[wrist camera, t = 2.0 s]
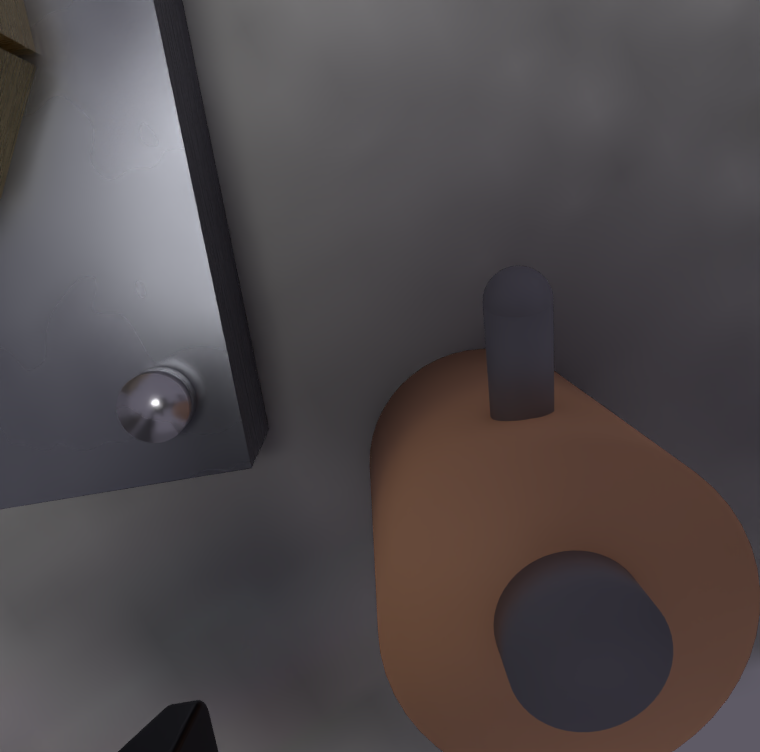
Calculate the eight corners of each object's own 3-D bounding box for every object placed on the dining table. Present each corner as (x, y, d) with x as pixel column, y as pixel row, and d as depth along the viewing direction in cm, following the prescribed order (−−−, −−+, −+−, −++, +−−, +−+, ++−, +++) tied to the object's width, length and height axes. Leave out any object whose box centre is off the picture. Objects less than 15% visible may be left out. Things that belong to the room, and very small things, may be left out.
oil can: (604, 545, 16) (805, 801, 9) (389, 581, 16) (413, 864, 9) (573, 232, 14) (782, 236, 7) (335, 271, 14) (313, 312, 7)
